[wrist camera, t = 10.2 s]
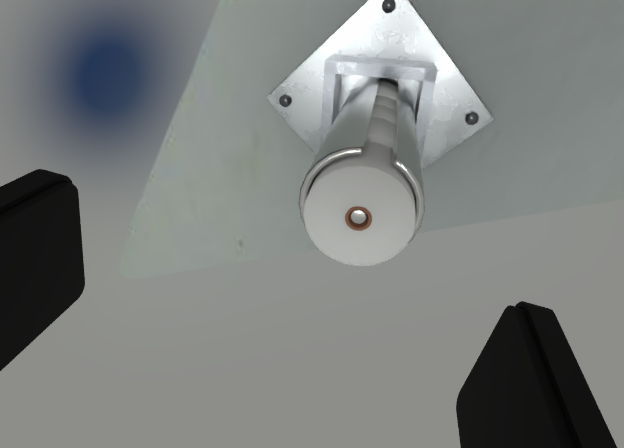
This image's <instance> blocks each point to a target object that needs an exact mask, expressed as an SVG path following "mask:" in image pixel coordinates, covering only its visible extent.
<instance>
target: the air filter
mask: <svg viewBox="0 0 624 448" xmlns="http://www.w3.org/2000/svg"><path fill="white" fill-rule="evenodd" d="M299 209H300V215H301V219H302V221H303V223H304V226H305V228H306V230H307V232H308V234H309V236H310V238H311V240H312V241H313V242H314V244H315V245H316V246H317V247H318V248H319V250H321V251H322V252H323V253H325V254H326V255H327V256H329V257H330V258H332V259H334V260H337V261H339V262H341V263H344V264H350V265H355V266H372V265H375V264H379V263H383V262H385V261H387V260H389V259H390V258H392V257H394V256H396V255H397V254H398V253H399V252H400V251H401V250H403V249H404V248H405V247H406V245H407V244H408V243H409V242H410V241H411V240H412V239H413V238H414V236H415V235H416V233H417V231H418V230H419V228H420V227H421V223H422V220H423V216H424V212H425V206H424V190H423V182H422V174H421V166H420V158H419V149H418V141H417V133H416V125H415V117H414V109H413V101H412V97H411V94H410V91H409V89H408V88H407V86H406V85H405V83H403V82H402V81H401V80H400V79H394V78H382V77H370V76H366V77H364V78H362V79H361V80H360V81H358V82H357V83H356V84H355V86H354V87H353V88H352V89H351V91H350V93H349V95H348V97H347V99H346V101H345V103H344V104H343V106H342V108H341V110H340V112H339V114H338V116H337V118H336V120H335V121H334V123H333V125H332V127H331V129H330V131H329V133H328V135H327V137H326V138H325V140H324V142H323V144H322V146H321V148H320V150H319V152H318V154H317V155H316V157H315V159H314V161H313V163H312V165H311V167H310V169H309V171H308V172H307V174H306V177H305V179H304V181H303V183H302V186H301V188H300V196H299Z"/></svg>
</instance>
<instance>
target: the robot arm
mask: <svg viewBox="0 0 624 448" xmlns="http://www.w3.org/2000/svg"><path fill="white" fill-rule="evenodd" d="M84 286H85V277H84V264H83V251H82V237H81V224H80V212H79V198H78V190H77V188H76V187H75V186H74V185H73V184H72V181H71V180H70V179H69V177H67V176H64V175H61V174H57V173H54V172H50V171H47V170H41V169H38V170H35V171H33V172H31V173H28V174H26V175H24V176H22V177H20V178H18V179H16V180H14V181H12V182H10V183H8V184H5V185H3V186H1V187H0V371H1V370H2V369H3V368H4V367H5V366H6V365H8V364H9V363H10V362H11V361H12V360H13V359H14V358H15V357H16V356H17V355H18V354H19V353H20V352H21V351H23V350H24V349H25V348H26V347H27V346H28V345H29V344H30V343H31V342H32V341H33V340H34V339H35V338H36V337H37V336H39V335H40V334H41V333H42V332H43V331H44V330H45V329H46V328H47V327H48V326H49V325H50V324H52V323H53V321H55V320H56V319H57V318H58V317H59V316H60V315H61V314H62V313H63V312H64V311H65V310H66V309H68V308H69V307H70V306H71V305H72V304H73V303H74V302H75V301H76V300H77V299H78V298H79V297H80V295H81V294H82V292H83V290H84ZM456 410H457V411H456V412H457V420H458V428H459V436H460V445H461V448H617V447H616V444H615V442H614V440H613V438H612V436H611V434H610V431H609V429H608V427H607V425H606V423H605V421H604V419H603V416H602V414H601V412H600V410H599V408H598V406H597V404H596V401H595V399H594V397H593V395H592V393H591V390H590V388H589V386H588V384H587V382H586V380H585V378H584V375H583V373H582V371H581V369H580V367H579V365H578V363H577V360H576V358H575V356H574V354H573V352H572V350H571V347H570V345H569V343H568V341H567V339H566V337H565V335H564V332H563V330H562V328H561V326H560V324H559V322H558V320H557V317H556V315H555V313H554V312H553V310H551V309H548V308H545V307H541V306H537V305H534V304H530V303H526V302H523V301H522V302H519V303H518V304H517V305H516V306H515V307H514V306H508V307H507V308H506V309H505V310H504V312H503V314H502V316H501V317H500V319H499V321H498V323H497V325H496V327H495V329H494V330H493V332H492V334H491V336H490V338H489V340H488V341H487V343H486V345H485V347H484V349H483V350H482V352H481V354H480V356H479V358H478V359H477V362H476V363H475V365H474V367H473V369H472V370H471V372H470V374H469V376H468V378H467V379H466V381H465V383H464V385H463V387H462V389H461V390H460V392H459V395H458V398H457V406H456Z"/></svg>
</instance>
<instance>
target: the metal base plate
mask: <svg viewBox="0 0 624 448" xmlns="http://www.w3.org/2000/svg"><path fill="white" fill-rule="evenodd" d="M366 76H370V77H382V78H394V79H400V80H401V81H402V82H403V83H405V85H406V86H407V88H408V89H409V91H410V94H411V97H412V101H413V109H414V117H415V125H416V133H417V141H418V149H419V158H420V166H421V170H422V169H424V168H425V167H427V166H428V165H430V164H431V163H432V162H434V161H435V160H437V159H438V158H440V157H441V156H442V155H444V154H445V153H447V152H448V151H450V150H451V149H453V148H454V147H455V146H457V145H458V144H460V143H461V142H463V141H464V140H465V139H467V138H468V137H470V136H471V135H473V134H474V133H475V132H477V131H478V130H480V129H481V128H483V127H484V126H486V125H487V124H488V123H490V122H491V121H493V120H494V119H493V117H492V116H491V115H490V113H489V112H488V110H487V109H486V108H485V106H484V105H483V103H482V102H481V101H480V99H479V98H478V97H477V95H476V94H475V92H474V91H473V90H472V88H471V87H470V86H469V84H468V83H467V81H466V80H465V79H464V77H463V76H462V74H461V73H460V72H459V70H458V69H457V68H456V66H455V65H454V63H453V62H452V61H451V59H450V58H449V56H448V55H447V54H446V52H445V51H444V50H443V48H442V47H441V45H440V44H439V43H438V41H437V40H436V38H435V37H434V36H433V34H432V33H431V32H430V30H429V29H428V27H427V26H426V25H425V23H424V22H423V21H422V19H421V18H420V16H419V15H418V14H417V12H416V11H415V9H414V8H413V7H412V5H411V4H410V3H409V1H408V0H369V1H368V2H367V3H366V4H365V5H364V6H363V7H361V8H360V9H359V10H358V11H357V12H356V13H355V14H354V15H353V16H352V17H351V18H350V19H349V20H348V21H347V22H346V23H345V24H344V25H343V26H341V27H340V28H339V29H338V30H337V31H336V32H335V33H334V34H333V35H332V36H331V37H330V38H329V39H328V40H327V41H326V42H325V43H324V44H323V45H322V46H320V47H319V48H318V49H317V50H316V51H315V52H314V53H313V54H312V55H311V56H310V57H309V58H308V59H307V60H306V61H305V62H304V63H303V64H302V65H300V66H299V67H298V68H297V69H296V70H295V71H294V72H293V73H292V74H291V75H290V76H289V77H288V78H287V79H286V80H285V81H284V82H283V83H282V84H281V85H279V86H278V87H277V88H276V89H275V90H274V91H273V92H272V93H271V94H270V95H269V96H268V97H267V99H268V101H269V102H270V103H271V104H272V105H273V106H274V107H275V109H276V110H277V111H278V112H279V113H280V114H281V116H282V117H283V118H284V119H285V120H286V121H287V122H288V124H289V125H290V126H291V127H292V128H293V129H294V130H295V132H296V133H297V134H298V135H299V136H300V137H301V139H302V140H303V141H304V142H305V143H306V144H307V145H308V147H309V148H310V149H311V150H312V151H313V152H314V153H315V155H317V154H318V152H319V150H320V148H321V146H322V144H323V142H324V140H325V138H326V137H327V135H328V133H329V131H330V129H331V127H332V125H333V123H334V121H335V120H336V118H337V116H338V114H339V112H340V110H341V108H342V106H343V104H344V103H345V101H346V99H347V97H348V95H349V93H350V91H351V89H352V88H353V87H354V86H355V84H356V83H357V82H358V81H360V80H361V79H362V78H364V77H366Z"/></svg>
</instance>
